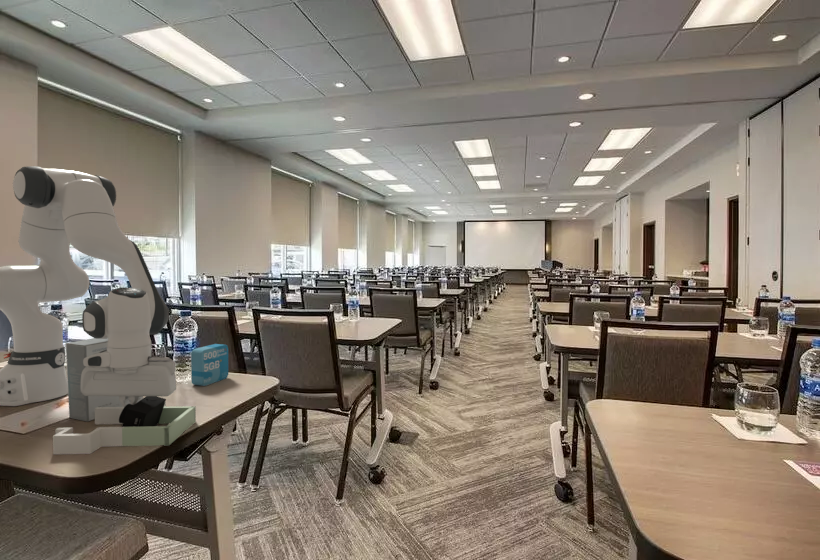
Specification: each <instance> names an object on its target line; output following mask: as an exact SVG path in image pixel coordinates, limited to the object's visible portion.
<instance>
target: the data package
mask: <svg viewBox="0 0 820 560" xmlns="http://www.w3.org/2000/svg"><path fill="white" fill-rule="evenodd" d="M190 359H191V360H190V366H191V368H190V369H191V370H190V371H191V374H190V375H191V380H190V381H191V383H192V385H194V386H200V387H201V386H202V387H205V386H206V387H207V386H209V385H212V384H215V383H218V382H221V381H223V380H226V379H227V378H228V377H229V347H228V345H227V344H223V343H221V344H220V343H214V344H209V345H205V346H201V347H197V348H196V347H195V348H194V349H192V351H191V353H190Z"/></svg>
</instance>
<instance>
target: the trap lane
mask: <svg viewBox="0 0 820 560" xmlns="http://www.w3.org/2000/svg"><path fill="white" fill-rule="evenodd" d="M136 403H137V402H136ZM196 408H197V407H196V406H195V405H194V406H192V405H189V406H186V405H185V406H183V405H182V406H167V402H166V401H165V404H164V408H163V411H162V414H161V417H160V420H159V423H158V425H159V424H163V425H164V424H167V425H164V426H163V425H162V426H161V425H159V426H158V425H157V426H147V427H122V426H99V427H96V428H94V430H92V431H90V432H88V433H74V427H57V428H56V429H55V434H54V435H53V436H52V448H53V449H52V450H53V451H52V454H53V455H86V454H88V455H90V454H92V453H94V452H96V451H97V450H98V449H100V448H101V447H102V448H103V447H151V446H153V447H154V446H155V447H156V446H157V447H159V446H160V445H164V446H170V445H172V443H174V442H175V441H176V440H177V439H178V438H179V437H180V436H181V435H183V432H184V431H185V430H186V431H187V430H188V429H189V428H190V427H192V426H193V425H194V424H195V423H197V421H196V420H197V418H196V417H197V416H196V411H197V410H196ZM123 409H124V407H97V408H95V419H94V425H123V423H119V417H120V414H121V412H122V410H123ZM186 431H185V432H186ZM185 432H184V433H185Z"/></svg>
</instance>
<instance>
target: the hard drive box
mask: <svg viewBox="0 0 820 560" xmlns="http://www.w3.org/2000/svg"><path fill="white" fill-rule="evenodd" d="M107 343H108V339H96V338H93V337H92V338H88V339H87V338H86V339H84V340H76V341H72V342H67V343H65V358H66V377H67V381H68V394H67V395H68V416H69V419H74V420H78V421H84V422H91V421H95V408H97V407H123V405H122V404H121V402H120V401H119V396H84V395H83V394H82V392H81V374H82V371H83V369H84V368H85V367H86V366H84V364H83V360H84V358H86V357H88V356H90V355H93V354H95V353H99V352H101V351H104V350H107ZM143 398H144V396H140V398H139V399H138V401H137V402H139V401H140V400H142V399H143ZM128 399H129V398H128ZM129 401H130V402H131V400H129Z"/></svg>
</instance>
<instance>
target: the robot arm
mask: <svg viewBox="0 0 820 560" xmlns="http://www.w3.org/2000/svg"><path fill="white" fill-rule="evenodd" d="M12 181H13V182H12V191H13V194H14V197H15V198H16V199H17V201H18V202H20V203H21V205H24V207H23V211H22V217H21V222H20V227H19V228H20V229H19V233H18V235H19V236H18V245H19V247H20V249H22V251H24V252H25V253H26V254H28V255H30V256H32V257H35V258H37V259H39V264H35V265H2V266H0V311H1V312H2V313H3V314H4V315H5V316H6V318H7V320H8V321H9V323H10V325H11V330H12V331H11V332H12V340H13V350H12V351H11V352H9V353H5V354H3V356H4V357H3V359H8V360H7V362H6V364H5V365H4V366H3V367H1V368H0V406H2V407H3V406H5V407H17V406H23V405H28V404H32V403H37V402H44V401H49V400H53V399H57V398H60V397H64V396H65V395H68V379H67V372H66V368H65V362H66V346H64V336H63V335H64V334H63V324H62V321H61V320H60V319H59V318H58V317H56V316H54V315H52V314H49V313H46V312H42V311H41V310H40V308H39V303H47V302H49V303H50V302H62V301H64V302H65V301H70V300H75V299H78V298H81V297H84V296H85V295H86V293H87V292H88V290H89V288H90V283H91V282H90V278H89V275H88V273H86V271H85V270H84V269H83V268H82V267H80V266H79V265H78V264H76V263H75V261H74V260H73V259H72V256H71V250H70V245H71V246H72V248H74V249H76V250H77V251H78V252H80V253H82V254H83V255H86V256H88V257H92V258H95V259H97V260H103V261H104V262H108V263H111V264H113V265H115V266H116V267H119V268H120V269H121V270H122V271H123V272H124V273H125V275H126V277H127V279H128V281H129V285H130V286H131V287H118V288H113V289H112V290H110V291H109V293H108V295H107V297H104V298H102V299H99V300H96V301H92V302H90V303H89V304H88V305H87V306H86V307H85V308H84V309H83V311H82V315H81V316H82V329H83V331H84V332H85V333H86V334H87V335H88V336H90V338H91V337H92V338H96V339H108V343H107V350H104V351H101V352H99V353H95V354H93V355H90V356H88V357H86V358H84V360H83V364H84V366H86V367H85V368H84V369H83V371H82V374H81V392H82V394H83V395H84V396H119V401H120V402H121V404H122V405H123V407H125V406H126V405H127V404H132V405H134V404H136V402H137V401H138V399H139V398H140V396H143V397H146V396H157V397H169V396H171V395H172V394H173V393H175V392H176V390H177V379H176V362H175V361H174V360H173V359H171V358H170V357H169V356H168V357H167V356H163V357H162V356H161V357H160V356H152V340H151V337H150V335H157V334H158V333H159V332H161V331H162V329H164V327H165V326H166V325H167V323H168V322H169V318H170V317H169V316H170V313H169V309H168V306H167V304H166V302H165V301H164V299H163V298H162V297H161V294H160V293H159V291H158V289H157V286H156V285H155V281H154V279H153V277H152V275H151V272H150V271H149V268H148V265H147V263H146V261H145V258H144V256H143V255H142V252H141V251H140V248H139V246H138V245H137V244H136V243H135V242H134V241H132V240H131V239H129V238H128V236H127V235H125V233H124V232H123V231H122V228H121V227H120V225H119V223H118V219H117V215H116V211H115V210H114V206H115V204H116V200H117V191H116V187H115V185H114V183H113V182H112V181H111V180H110V179H108V178H106V177H103V176H101V175H97V174H95V175H93V174H89V173H85V172H81V171H75V170H72V169H71V170H70V169H69V170H68V169H59V168H46V167H41V166H35V165H33V166H32V165H31V166H27V165H26V166H22V167H21V168H19V169H18V170H17V171H16V172H15V174H14V177H13V180H12ZM128 398H129V399H128ZM129 400H131V402H130V401H129Z"/></svg>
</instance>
